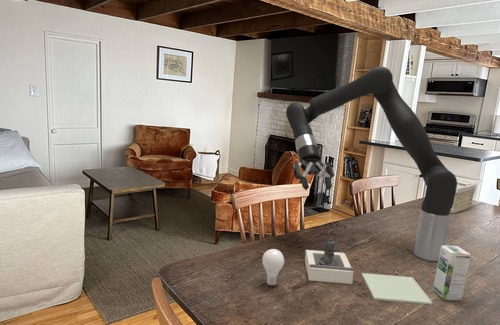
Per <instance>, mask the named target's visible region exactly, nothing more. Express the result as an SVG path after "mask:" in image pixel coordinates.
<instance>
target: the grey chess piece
mask: <svg viewBox="0 0 500 325" xmlns="http://www.w3.org/2000/svg"><path fill="white" fill-rule="evenodd" d="M335 244H336V242H335V240H333V237H331V236H330V237H329V238H328V239H326V240H325V244H324V249H323V251H324V257H323V258H320V259H319V262H320V265H326V266H336V265H337V261H336V260H334V253H335V252H336V250H335V246H336V245H335Z"/></svg>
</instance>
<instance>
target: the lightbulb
mask: <svg viewBox="0 0 500 325" xmlns="http://www.w3.org/2000/svg"><path fill="white" fill-rule="evenodd" d="M261 261H262V265H263V267H264V269H265V272H266V275H267V278H266V284H267V285H268V286H275V285H276V284H277V277H278V274H279V272H280V271H281V269H282V268H283V267H284V264H285V257H284V255H283V253H282V252H281V251H280V250H279V249H276V248H270V249H268V250H266V251H265V252H264V253H263V255H262V260H261Z"/></svg>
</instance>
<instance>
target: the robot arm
mask: <svg viewBox="0 0 500 325" xmlns="http://www.w3.org/2000/svg"><path fill="white" fill-rule="evenodd" d="M393 79H394V77H393V73H392V71H391V70H390V69H389V68H387V67H386V66H382V65H381V66H380V65H378V66H375V67H372V68H371V69H369V70H368V71H367V72H366V73H364V74H363V75H360V76H359V77H358V78H356V79H355V80H352V81H351V82H347V83H346V84H344V85H341V86H339V87H336V88H334V89H331V90H329V91H326V92H324V93H321V94H319V95H317V96H315V97H313V98H311V99H310V100H309V105H308V107H307V108H305V107H304V106H303V104H301V103H299V102H295V101H294V102H291V103H290V104H288V106H287V107H286V111H285V114H286V118H287V121H288V124H289V126H290V128H291V130H292V134H293V139H294V143H295V149H296V154H297V157H298V161H297V160H295V161H294V162H293V163H292V171H293V176H294V179H295V180H299V181H300V182H301V186H302V189H304V191H307V190H308V189H309V188H310V186H309V182H308V178H307V177H306V176H308V175H309V176H311V175H313V176H314V175H315V176H317V177H319V178H322V180H323V182H324V184H325V185H324V186H325V188H326V190H327V191H329V190H331V189H332V187H333V183H332V181H331V180H332V178H334V176H335V174H334V173H335V172H334V171H333V170H334V169H333V167H332V165H331V162H330V161H327V162H324V163H323V162H322V160H321V155H320V151H319V147H318V144H317V141H316V139H315V137H314V134H313V130H312V128H311V125H310V123H311V122H313V121H315V120H316V119H317V118H318V117H320V116H321V115H324V114H326V113H329V112H331V111H333V110H336V109H337V108H339V107H342V106H344V105H346V104H347V103H350V102H352V101H354V100H356V99H357V100H358V99H359V98H362V97H364V96H365V97H366V96H369V95H372V96H373V97H374V98H375V100H376V101H377V102H378V104H379V105H380V107H381V108H382V110H383V112H384V114H385V117H386V119H387V122H388V124H389V126H390V128H391V129H392V131H393V133H394V135H395V136H396V138H397V139H398V141H399V142H400V144H401V145H402V147H403V148H404V150H405V151H406V152H407V154H408V155H409V156H410V157H411V158H412V160H413V161H414V163H415V164H416V167H417V168H418V171H419V172H420V174H421V177H422V179H423V181H424V184H425V185H426V188H425V193H424V194H425V195H424V199H423V200H422V202H421V206H420V213H419V218H418V226H417V231H416V232H417V233H416V237H415V244H414V250H413V254H414V255H415V256H416V257H418V258H420V259H422V260H425V261H430V262H438V260H439V255H440V250H441V246H445V245H448V241H449V234H447V230H448V225H449V219H450V214H451V213H450V210H451V208H452V206H453V203H454V198H455V194H456V188H458V184H457V180H458V179H457V177H456V175H455V174H454V173H453V172H452V171H450V170H449V169H448V168H447V167H446V166H445V165H444V164H443V162H442V161H441V159H440V158H439V156H437V154H436V153H435V151H434V149H433V146H432V142H431V140H430V138H429V137H430V136H429V135H428V133H427V131H426V129H425V127H424V125H423V124H422V122H421V121H420V119H419V118H418V116H417V115H416V113H415V112H414V110H413V109H412V108H411V107H410V106H409V105H408V104H407V103H406V101H405V100H404V99H403V97H402V96H401V95H400V93H399V91H398V89H397V87H396V85H395V83H394V80H393ZM300 168H301V169H302V170H303V171H302V173H301V169H300Z"/></svg>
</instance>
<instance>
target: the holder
mask: <svg viewBox="0 0 500 325" xmlns="http://www.w3.org/2000/svg"><path fill="white" fill-rule="evenodd" d="M323 257H324V250H314V249H313V250H312V249H311V250H310V249H305V257H304V264H305V268H306V273H307V278H308V281H309V282H310V281H311V282H312V281H313V282H322V283H323V282H325V283H333V284H334V283H336V284H343V285H344V284H346V285H353V279H354V267H352V266H351V264H350V262H349V260H348V257H347V256H346V253H344V252H339V251H338V252H337V251H335V253H334V260H336V261H337V265H336V266H326V265H320V262H319V259H320V258H323Z"/></svg>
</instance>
